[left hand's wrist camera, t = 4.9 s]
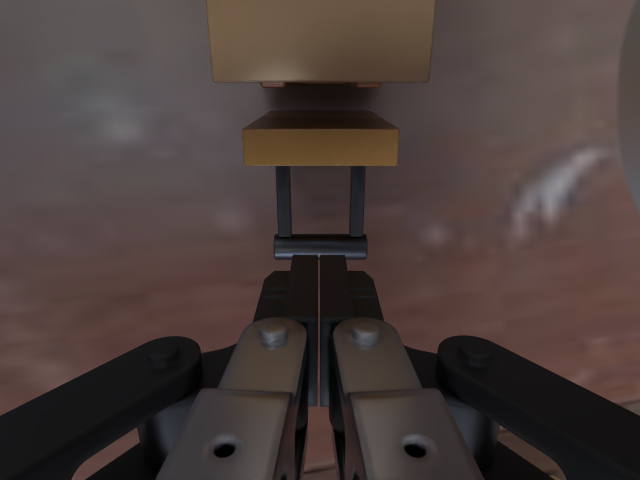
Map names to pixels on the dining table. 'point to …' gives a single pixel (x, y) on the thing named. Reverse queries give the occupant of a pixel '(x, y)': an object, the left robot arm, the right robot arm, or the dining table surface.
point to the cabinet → (320, 40)
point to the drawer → (320, 164)
